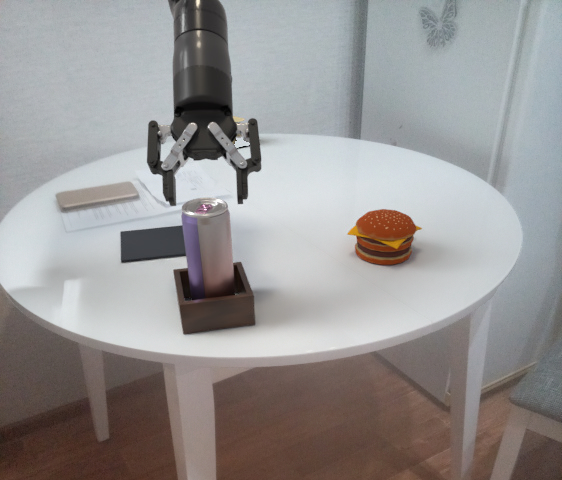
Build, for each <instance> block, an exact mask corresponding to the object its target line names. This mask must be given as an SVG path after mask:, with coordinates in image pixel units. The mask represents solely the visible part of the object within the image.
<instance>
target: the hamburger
mask: <svg viewBox="0 0 562 480" xmlns="http://www.w3.org/2000/svg"><path fill="white" fill-rule="evenodd" d="M420 230H423V227H421V226H418V225H416V223H415V222H414V221H413V218H411V216H409V215H408V214H406V213H404V212H401V211H398V210H396V209H386V208H381V209H375V210H369V211H367V212H366V213H364V214H362V216H361V217H359V218H358V219H357V220H356V222H355V225H354V226H353V227H351V228H350V230H349V231H348V232H347V234H346V235H348V236H353V237H354V236H355V237H356V243H355V245H354V251H355V254H356V256H358V258H360V259H361V260H362V261H365V262H367V263H370V264H375V265H381V266H382V265H383V266H384V265H385V266H387V265H388V266H390V265H396V264H402V263H403V262H405V261H408V260H409V258H410V256H411V255H412V253H413V250H412V243H413V242H414V238H415V237H414V235H415V234H416V233H417V232H418V231H420Z"/></svg>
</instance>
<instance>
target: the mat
mask: <svg viewBox="0 0 562 480" xmlns="http://www.w3.org/2000/svg"><path fill="white" fill-rule="evenodd" d="M119 234H120V262H121V263H131V262H140V261H148V260H155V259H156V260H158V259H165V258H166V259H167V258H175V257H176V258H177V257H184V256H185V257H186V250H185V242H184V234H183V226H182V224H180V225H173V226H162V227H161V226H160V227H152V228H151V227H150V228H141V229H132V230H122V231H120V233H119Z"/></svg>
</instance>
